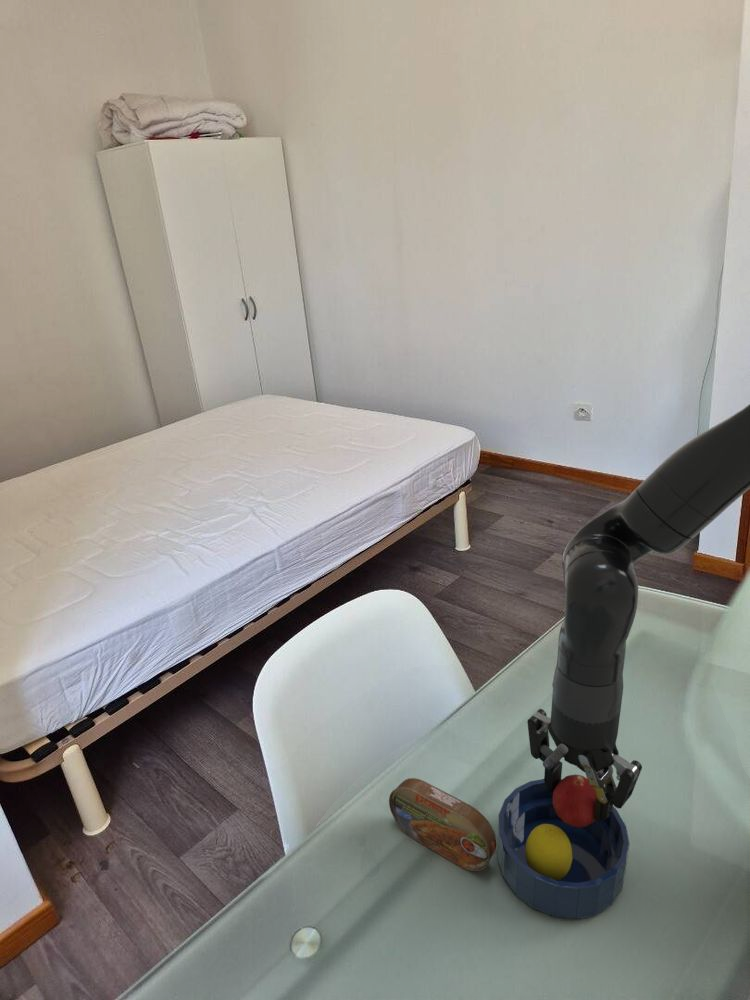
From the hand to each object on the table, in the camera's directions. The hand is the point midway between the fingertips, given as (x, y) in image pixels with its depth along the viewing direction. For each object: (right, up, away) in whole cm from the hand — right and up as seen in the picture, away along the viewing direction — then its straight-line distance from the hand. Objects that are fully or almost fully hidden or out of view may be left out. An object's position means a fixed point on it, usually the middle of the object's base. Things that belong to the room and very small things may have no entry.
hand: (576, 801), depth 85 cm
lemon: (-4, -9, 0) cm, 10 cm away
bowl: (-2, -8, +2) cm, 9 cm away
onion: (0, -3, +2) cm, 4 cm away
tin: (-16, -8, +5) cm, 19 cm away
